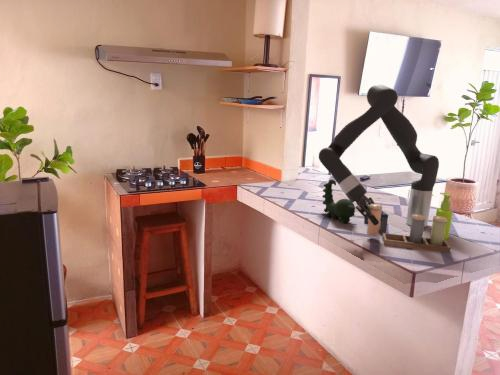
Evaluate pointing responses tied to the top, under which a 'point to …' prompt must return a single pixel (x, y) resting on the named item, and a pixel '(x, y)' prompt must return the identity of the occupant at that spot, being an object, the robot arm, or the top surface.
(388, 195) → the top surface
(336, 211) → the toy figurine
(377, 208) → the terracotta jar
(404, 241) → the walnut spice rack
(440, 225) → the olive jar
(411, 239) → the slate blue jar
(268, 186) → the top surface
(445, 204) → the soap dispenser
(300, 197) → the top surface
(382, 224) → the vhs cassette tape
